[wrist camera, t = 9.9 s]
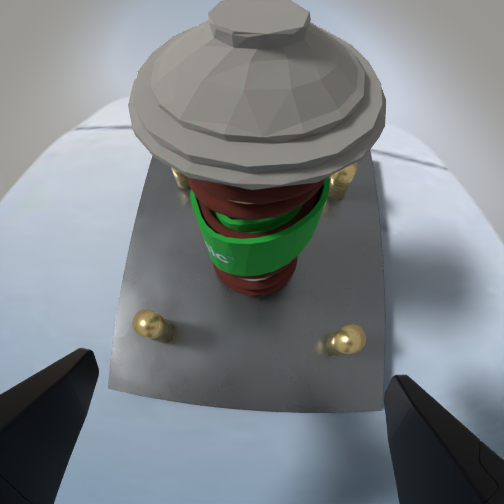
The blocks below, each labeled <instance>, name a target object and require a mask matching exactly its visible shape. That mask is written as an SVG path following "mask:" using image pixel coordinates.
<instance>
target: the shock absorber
mask: <svg viewBox="0 0 504 504" xmlns="http://www.w3.org/2000/svg"><path fill="white" fill-rule="evenodd" d="M208 17H209V21H206V22H204V23H201V24H199V25H198V26H196V27H194V28H191V29H189V30H187V31H184V32H182V33H180V34H178V35H176V36H174V37H172V38H171V39H170V40H168V41H167V42H166V43H165V44H163V45H162V46H161V47H160V48H158V49H157V50H156V51H154V52H153V53H152V54H151V55H150V57H149V58H148V59H147V61H146V62H145V63H144V64H143V66H142V67H141V68H140V70H139V71H138V76H137V78H136V79H135V81H134V84H133V87H132V91H131V96H130V100H129V104H128V106H129V112H130V117H131V123H132V128H133V131H134V133H135V135H136V137H137V138H138V139H139V140H140V141H141V142H142V143H143V145H144V146H145V147H146V148H147V149H148V150H149V152H150V153H151V154H152V155H153V156H154V157H155V158H156V159H158V160H160V161H162V162H163V163H165V164H167V165H168V166H170V167H172V168H174V169H175V170H177V171H179V172H180V173H182V174H184V175H185V176H187V178H188V182H189V185H190V187H191V192H190V198H191V203H192V207H193V210H194V213H195V215H196V218H197V221H198V224H199V227H200V229H201V232H202V235H203V238H204V240H205V243H206V246H207V249H208V251H209V254H210V257H211V259H212V263H213V266H214V270H215V272H216V273H217V275H218V277H219V279H220V280H221V281H222V282H223V283H224V284H225V285H226V286H228V287H229V288H231V289H232V290H234V291H235V292H237V293H241V294H244V295H248V296H257V295H267V294H271V293H272V292H274V291H276V290H278V289H280V288H282V287H283V286H284V285H285V284H286V283H287V282H288V281H289V280H290V279H291V277H292V275H293V273H294V271H295V269H296V265H297V259H298V255H299V254H300V253H301V252H302V251H303V249H304V248H305V247H306V246H307V244H308V243H309V241H310V240H311V238H312V236H313V235H314V233H315V231H316V228H317V225H318V222H319V220H320V217H321V214H322V211H323V209H324V206H325V203H326V200H327V197H328V194H329V187H330V179H329V176H331V175H332V174H334V173H336V172H338V171H340V170H342V169H344V168H346V167H348V166H350V165H352V164H354V163H356V162H358V161H360V160H362V159H363V158H364V157H365V155H366V154H367V153H368V151H369V150H370V149H371V147H372V146H373V145H374V144H375V142H376V141H377V140H378V138H379V137H380V135H381V133H382V131H383V129H384V127H385V114H386V99H385V96H384V93H383V90H382V88H381V83H380V81H379V79H378V78H377V76H376V74H375V72H374V70H373V68H372V67H371V65H370V63H369V62H368V61H367V60H366V59H365V58H364V57H363V56H362V55H361V54H360V53H359V52H358V51H357V50H356V49H355V48H354V47H353V46H352V45H350V44H349V43H347V42H345V41H343V40H342V39H340V38H338V37H336V36H335V35H333V34H331V33H329V32H327V31H326V30H323V29H322V28H319V27H317V26H316V25H314V24H313V23H311V22H310V20H311V19H310V12H309V11H307V10H306V9H304V8H303V7H301V6H299V5H298V4H296V3H294V2H293V1H291V0H223V1H221V2H219V3H218V4H217V5H216V6H215V7H214V8H213V9H212V10H211V11H210V12H209V13H208Z"/></svg>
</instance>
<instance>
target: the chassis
mask: <svg viewBox="0 0 504 504" xmlns="http://www.w3.org/2000/svg"><path fill="white" fill-rule="evenodd" d="M329 179H330V187H329V194H328V197H327V200H326V203H325V206H324V209H323V211H322V214H321V217H320V220H319V222H318V225H317V228H316V231H315V233H314V235H313V236H312V238H311V240H310V241H309V243H308V244H307V246H306V247H305V248H304V249H303V251H302V252H301V253H300V254H299V255H298V259H297V265H296V269H295V271H294V273H293V275H292V277H291V279H290V280H289V281H288V282H287V283H286V284H285V285H284V286H283V287H282V288H280V289H278V290H276V291H274V292H272V293H271V294H267V295H257V296H248V295H244V294H241V293H237V292H235V291H234V290H232V289H231V288H229V287H228V286H226V285H225V284H224V283H223V282H222V281H221V280H220V279H219V277H218V275H217V273H216V272H215V270H214V266H213V263H212V259H211V257H210V254H209V251H208V249H207V246H206V243H205V240H204V238H203V235H202V232H201V229H200V227H199V224H198V221H197V218H196V215H195V213H194V210H193V207H192V203H191V198H190V192H191V187H190V185H189V182H188V178H187V176H185V175H184V174H182V173H180V172H179V171H177V170H175V169H174V168H172V167H170V166H168V165H167V164H165V163H163V162H162V161H160V160H158V159H156V158H155V157H154V156H152V159H151V163H150V166H149V170H148V173H147V177H146V180H145V184H144V188H143V192H142V195H141V199H140V203H139V207H138V211H137V215H136V219H135V224H134V228H133V232H132V237H131V241H130V246H129V251H128V255H127V260H126V265H125V270H124V276H123V281H122V286H121V292H120V298H119V304H118V310H117V317H116V324H115V331H114V338H113V346H112V354H111V363H110V372H109V383H108V389H112V390H117V391H121V392H126V393H130V394H135V395H140V396H146V397H151V398H156V399H162V400H168V401H174V402H181V403H188V404H195V405H203V406H211V407H220V408H230V409H241V410H254V411H271V412H299V413H336V412H364V411H380V410H382V400H383V384H384V359H385V298H384V273H383V256H382V242H381V230H380V220H379V210H378V201H377V193H376V185H375V178H374V171H373V164H372V157H371V151H370V150H369V151H368V153H367V154H366V155H365V157H364V158H363V159H362V160H360V161H358V162H356V163H354V164H352V165H350V166H348V167H346V168H344V169H342V170H340V171H338V172H336V173H334V174H332V175H331V176H329Z"/></svg>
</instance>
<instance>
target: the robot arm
mask: <svg viewBox="0 0 504 504" xmlns="http://www.w3.org/2000/svg"><path fill="white" fill-rule="evenodd" d="M98 376H99V368H98V365H97V362H96V359H95V356H94V353H93V351H92V350H90V349H85V348H79V349H77V350H75V351H74V352H72V353H70V354H68V355H67V356H65V357H63V358H62V359H60V360H58V361H57V362H55V363H53V364H51V365H50V366H48V367H46V368H45V369H43V370H41V371H40V372H38V373H36V374H34V375H33V376H31V377H29V378H28V379H26V380H24V381H23V382H21V383H19V384H17V385H16V386H14V387H12V388H11V389H9V390H7V391H6V392H4V393H2V394H0V504H54V502H55V499H56V496H57V493H58V490H59V487H60V484H61V481H62V478H63V475H64V473H65V470H66V467H67V465H68V462H69V459H70V456H71V454H72V451H73V449H74V446H75V443H76V441H77V438H78V436H79V433H80V431H81V428H82V426H83V423H84V421H85V418H86V416H87V413H88V410H89V406H90V403H91V399H92V396H93V392H94V389H95V386H96V383H97V379H98ZM384 404H385V413H386V423H387V434H388V443H389V448H390V453H391V458H392V463H393V469H394V474H395V480H396V485H397V491H398V497H399V503H400V504H504V460H503V459H502V458H501V457H499V456H498V455H497V454H496V453H495V452H493V451H492V450H491V449H490V448H489V447H488V446H486V445H485V444H484V443H483V442H482V441H480V439H479V438H477V437H476V436H475V435H474V434H473V433H472V432H471V431H470V430H468V429H467V428H466V427H465V426H464V425H463V424H462V423H461V422H460V421H458V420H457V419H456V418H455V417H454V416H453V415H452V414H451V413H449V412H448V411H447V410H446V409H445V408H444V407H443V406H442V405H440V404H439V403H438V402H437V401H436V400H435V399H434V398H433V397H431V396H430V395H429V394H428V393H427V392H426V391H425V390H423V389H422V388H421V387H420V386H419V385H418V384H417V383H416V382H414V381H413V380H412V379H411V378H410V377H409V376H407V375H395V376H393V377H392V379H391V381H390V384H389V386H388V388H387V390H386V392H385V395H384Z"/></svg>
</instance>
